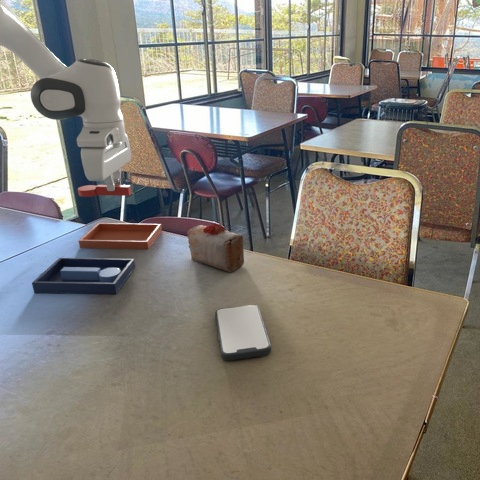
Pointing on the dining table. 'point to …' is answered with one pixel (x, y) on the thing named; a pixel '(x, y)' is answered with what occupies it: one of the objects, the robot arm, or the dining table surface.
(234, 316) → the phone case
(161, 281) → the dining table surface
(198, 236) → the food item
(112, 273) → the blue spoon
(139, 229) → the terracotta tray
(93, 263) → the navy tray
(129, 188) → the red spoon
